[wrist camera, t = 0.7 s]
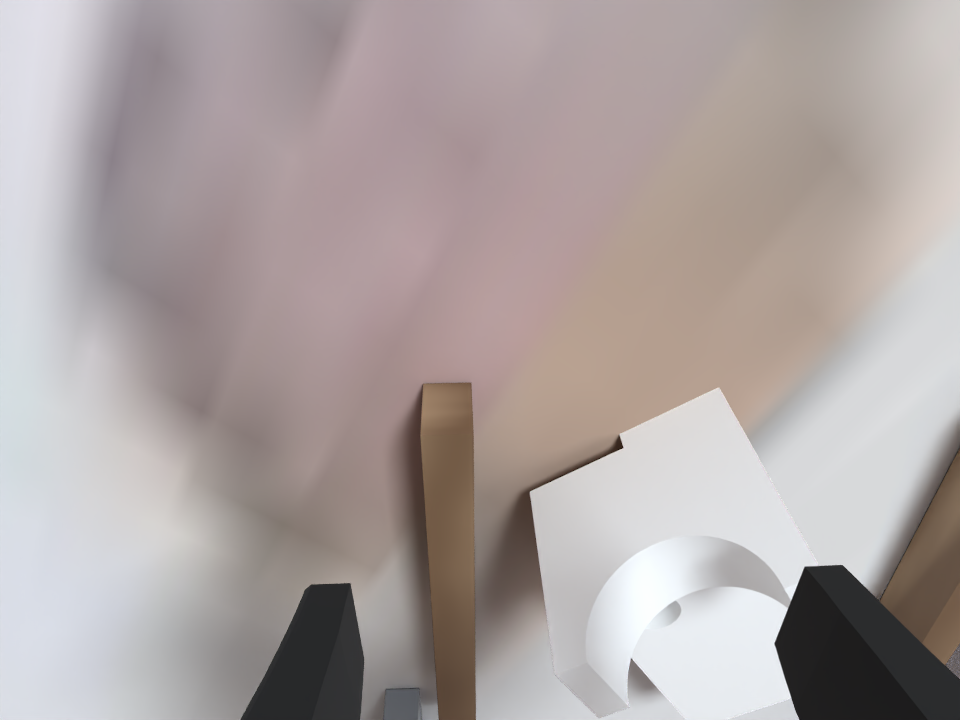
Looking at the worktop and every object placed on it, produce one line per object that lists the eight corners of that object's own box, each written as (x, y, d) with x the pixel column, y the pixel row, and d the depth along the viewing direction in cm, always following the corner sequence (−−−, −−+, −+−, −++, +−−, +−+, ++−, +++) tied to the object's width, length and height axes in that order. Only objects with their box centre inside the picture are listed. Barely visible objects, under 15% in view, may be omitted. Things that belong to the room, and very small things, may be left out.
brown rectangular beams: (1045, 370, 22) (1109, 419, 20) (880, 659, 30) (912, 714, 28) (423, 383, 21) (420, 435, 19) (440, 675, 30) (439, 732, 28)
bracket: (527, 472, 24) (554, 675, 17) (716, 382, 22) (823, 573, 16) (670, 650, 30) (729, 845, 24) (827, 592, 28) (935, 788, 22)
